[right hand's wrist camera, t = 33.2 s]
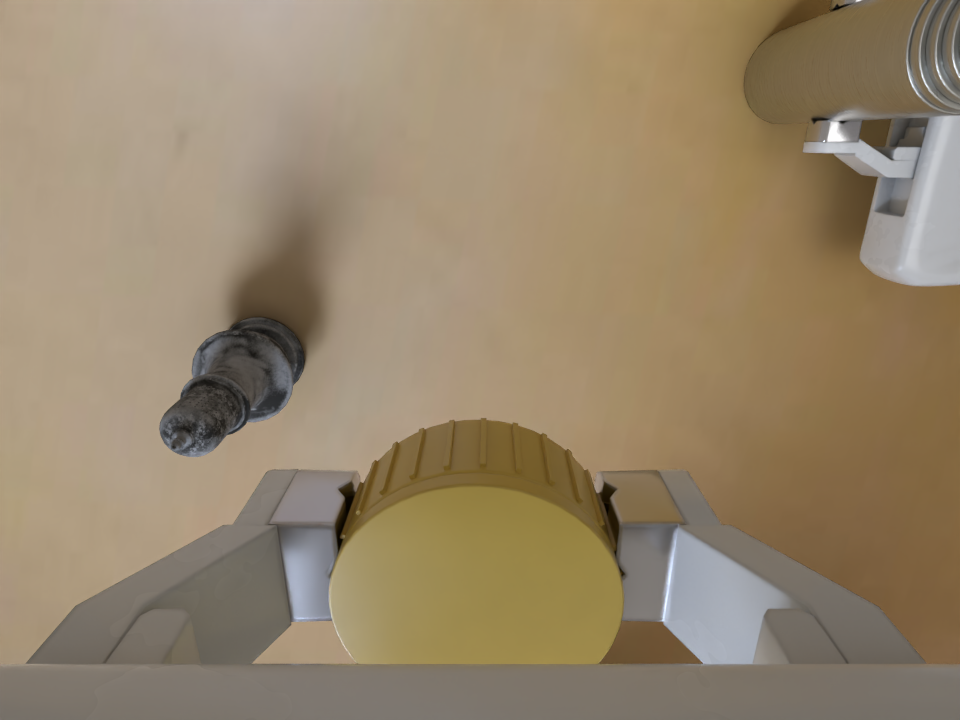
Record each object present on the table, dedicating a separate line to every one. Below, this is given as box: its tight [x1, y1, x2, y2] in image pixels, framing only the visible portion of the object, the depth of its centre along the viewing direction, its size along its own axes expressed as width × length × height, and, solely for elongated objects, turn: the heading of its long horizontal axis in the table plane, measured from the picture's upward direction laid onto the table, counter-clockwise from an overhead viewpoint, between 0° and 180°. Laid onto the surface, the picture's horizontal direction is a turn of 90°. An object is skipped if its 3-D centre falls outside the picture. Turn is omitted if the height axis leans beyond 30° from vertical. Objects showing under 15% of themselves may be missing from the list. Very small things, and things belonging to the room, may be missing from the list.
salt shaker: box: [159, 317, 304, 457], centre depth 32 cm, size 6×6×12 cm
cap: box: [329, 418, 624, 664], centre depth 9 cm, size 4×4×2 cm
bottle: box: [744, 0, 960, 124], centre depth 24 cm, size 5×5×18 cm
